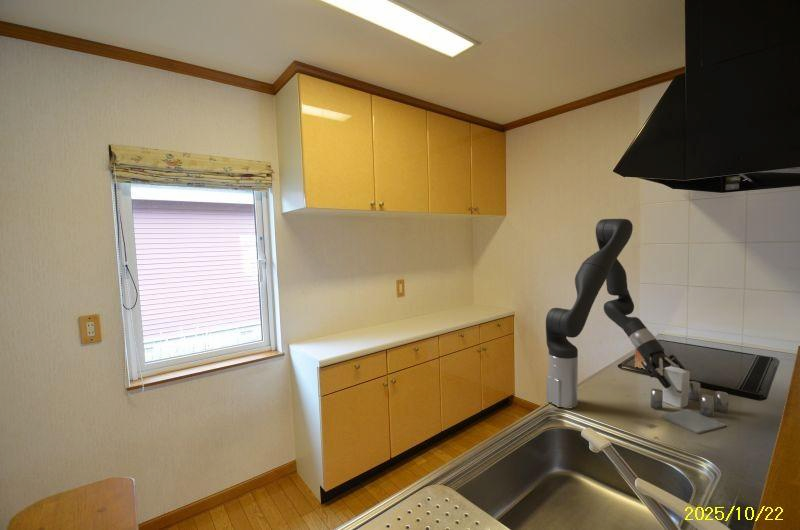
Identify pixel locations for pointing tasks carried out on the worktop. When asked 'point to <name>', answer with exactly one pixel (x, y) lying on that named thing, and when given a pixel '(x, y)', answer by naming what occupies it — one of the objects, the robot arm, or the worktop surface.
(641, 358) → the small box
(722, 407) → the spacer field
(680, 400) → the skincare box
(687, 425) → the slate tile
